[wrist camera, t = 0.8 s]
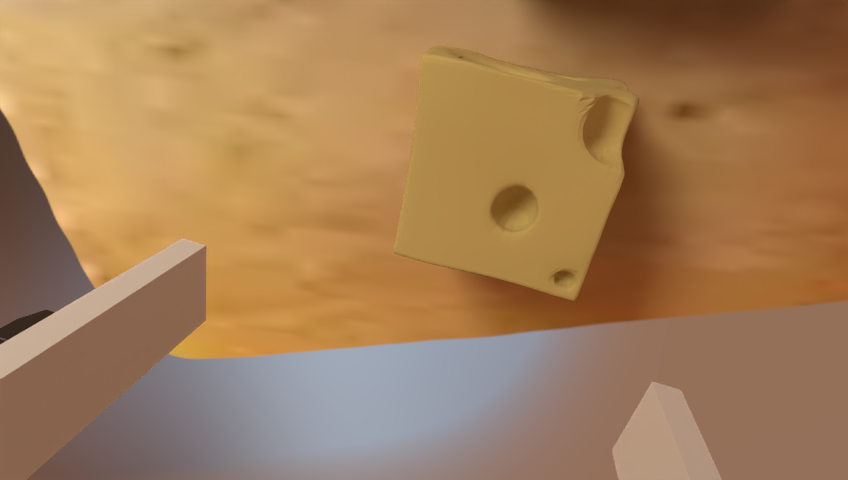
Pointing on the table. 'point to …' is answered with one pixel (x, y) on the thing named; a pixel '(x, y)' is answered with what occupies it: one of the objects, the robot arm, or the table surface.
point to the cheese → (512, 169)
